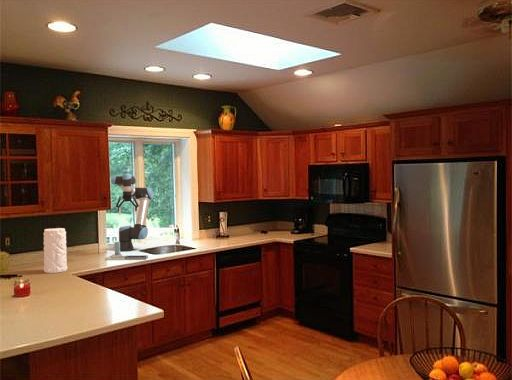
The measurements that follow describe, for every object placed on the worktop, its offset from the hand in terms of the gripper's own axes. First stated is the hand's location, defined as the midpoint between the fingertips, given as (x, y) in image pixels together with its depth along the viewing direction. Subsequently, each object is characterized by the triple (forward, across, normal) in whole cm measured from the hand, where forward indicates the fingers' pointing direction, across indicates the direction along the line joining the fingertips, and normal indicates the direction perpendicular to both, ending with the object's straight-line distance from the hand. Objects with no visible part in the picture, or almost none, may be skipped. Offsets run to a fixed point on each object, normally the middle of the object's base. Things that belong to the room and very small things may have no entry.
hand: (127, 214), depth 403 cm
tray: (+37, -4, -23) cm, 43 cm away
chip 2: (+36, -1, -23) cm, 43 cm away
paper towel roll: (+37, -38, -63) cm, 82 cm away
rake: (+37, -6, -12) cm, 39 cm away
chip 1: (+36, -5, -23) cm, 43 cm away
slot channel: (+37, +13, -23) cm, 45 cm away
